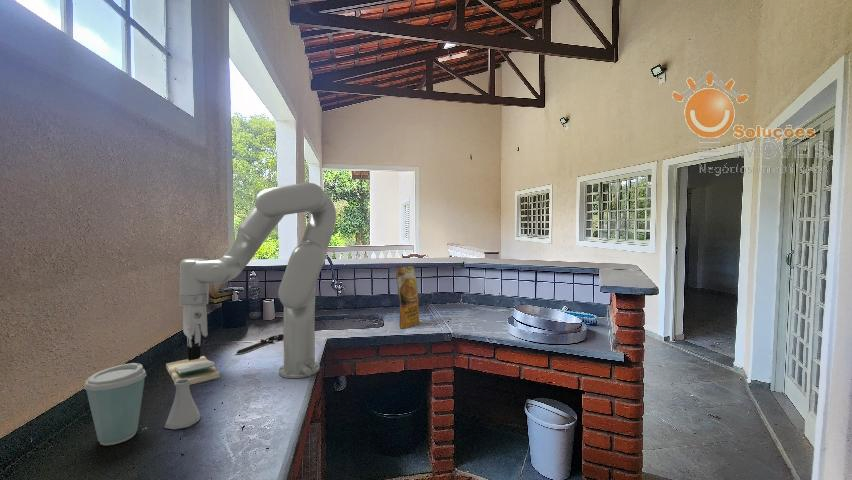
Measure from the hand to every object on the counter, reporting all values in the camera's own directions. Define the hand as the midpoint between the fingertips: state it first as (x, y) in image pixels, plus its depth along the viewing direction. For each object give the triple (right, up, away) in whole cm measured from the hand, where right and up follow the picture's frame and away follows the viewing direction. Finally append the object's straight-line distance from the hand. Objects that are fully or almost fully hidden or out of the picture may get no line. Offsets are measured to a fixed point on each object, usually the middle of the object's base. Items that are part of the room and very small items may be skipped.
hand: (193, 358), depth 115 cm
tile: (-1, -2, +1) cm, 3 cm away
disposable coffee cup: (+3, -7, -32) cm, 33 cm away
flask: (+13, -7, -25) cm, 30 cm away
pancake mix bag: (+63, -4, +64) cm, 90 cm away
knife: (+7, -6, +32) cm, 33 cm away
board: (-3, -6, +4) cm, 8 cm away
